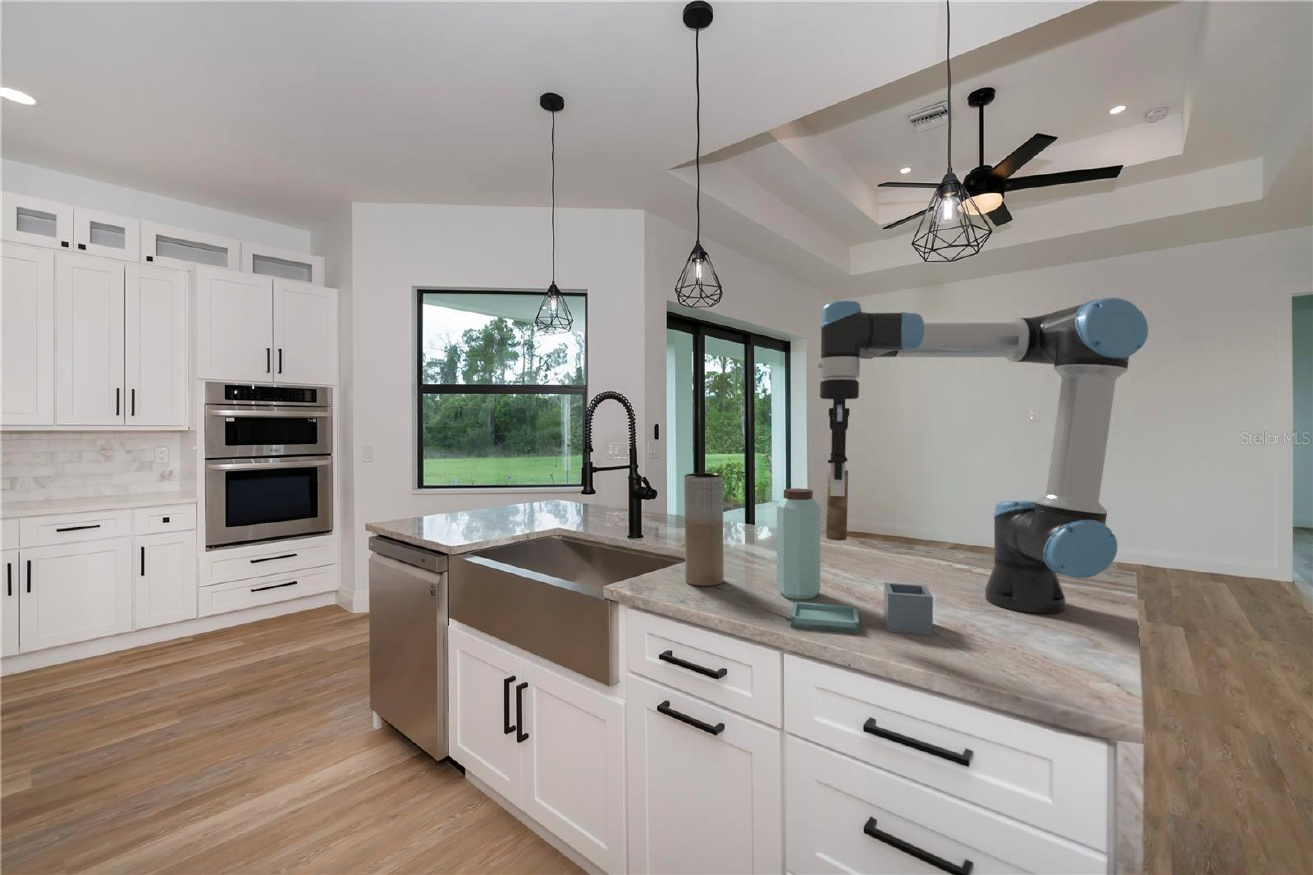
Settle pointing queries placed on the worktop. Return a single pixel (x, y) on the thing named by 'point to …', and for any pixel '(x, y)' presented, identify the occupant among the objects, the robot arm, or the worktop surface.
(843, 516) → the dowel
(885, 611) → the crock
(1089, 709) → the worktop surface
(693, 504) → the vase
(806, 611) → the tray
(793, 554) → the water bottle
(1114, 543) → the robot arm
